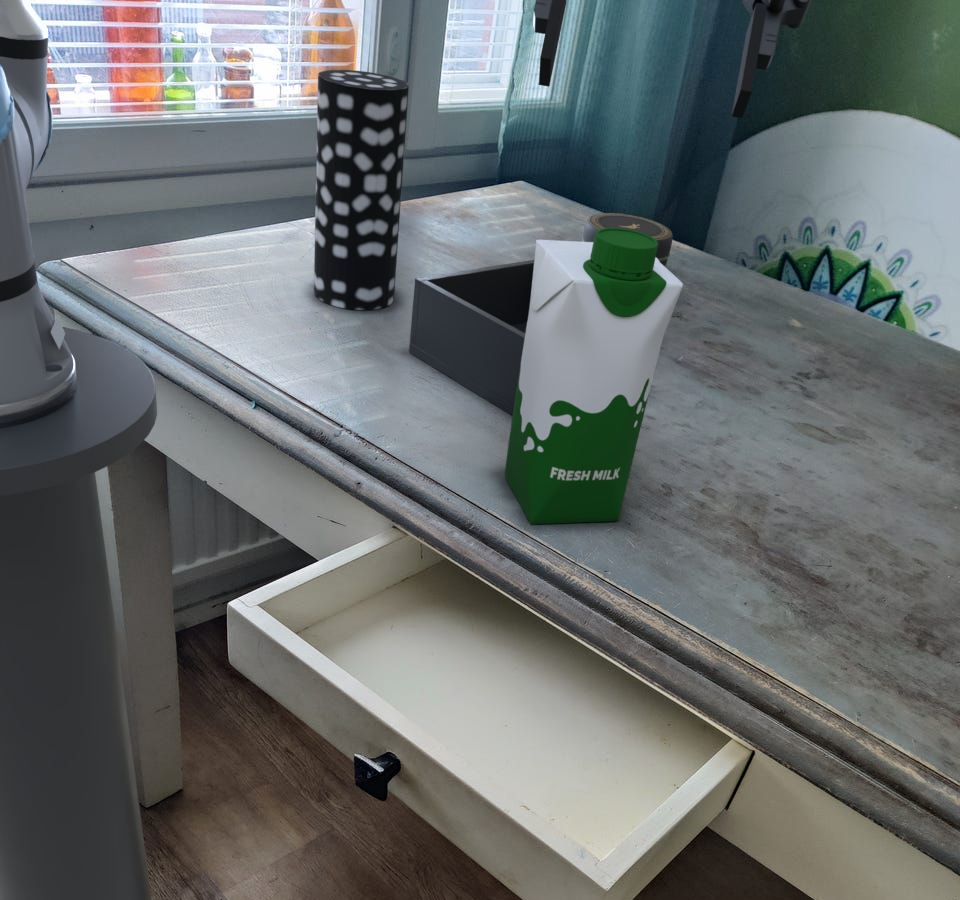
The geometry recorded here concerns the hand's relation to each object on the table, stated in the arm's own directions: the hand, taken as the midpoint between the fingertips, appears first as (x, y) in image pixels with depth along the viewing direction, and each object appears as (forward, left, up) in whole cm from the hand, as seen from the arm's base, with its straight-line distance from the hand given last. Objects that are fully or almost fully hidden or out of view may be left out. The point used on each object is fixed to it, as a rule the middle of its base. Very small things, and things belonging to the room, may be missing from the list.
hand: (642, 89), depth 67 cm
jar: (-23, +31, -27) cm, 47 cm away
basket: (-12, +6, -26) cm, 30 cm away
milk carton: (+7, -8, -27) cm, 29 cm away
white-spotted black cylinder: (-34, +2, -27) cm, 43 cm away
